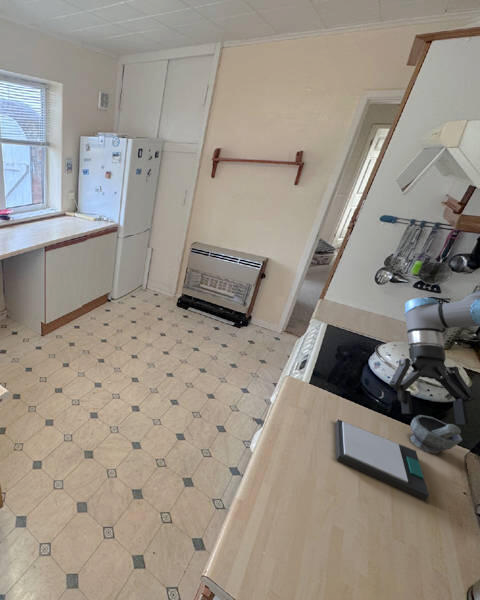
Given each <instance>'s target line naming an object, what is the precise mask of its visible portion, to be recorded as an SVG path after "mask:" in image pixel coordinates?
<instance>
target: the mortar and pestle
mask: <svg viewBox="0 0 480 600" xmlns="http://www.w3.org/2000/svg"><path fill="white" fill-rule="evenodd" d="M410 430H411V432H412V435H411V436H410V441H411V442H412V444H414V445H415V446H416V447H417V448H419V449H420V450H423V451H424V452H426V453H430V454H434V455H436V454H438V453H440V452H441V451H449V450H451V449H452V448H454V447H456V446H457V445H459V444H460V443H461V442H462V441H463V438H462V436H461V432H462V431H461V428H460V427H459V426H458V425H457V424H454V423H446V422H444V421H442V420H439V419H437V418H435V417H433V416H428V415H424V414H418V415H416V416H414V417H413V419H412V420H411V422H410Z"/></svg>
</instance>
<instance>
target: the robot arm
mask: <svg viewBox="0 0 480 600" xmlns="http://www.w3.org/2000/svg"><path fill="white" fill-rule="evenodd" d="M404 317H405V324H406V333H407V345H408V346H409V348H408V356H409V358H408V357H406V358H400V359H399V360H398V367H397V368H396V371H395V372H394V374H393V376H392V377H391V379H390V381H389V383H388V386H389V387H390V388H393V390H394V391H396V392H397V400H398V402H400V407H401V414H402V415H413V403H412V394H411V393H412V392H411V391H410V390H408V389H409V388H410V387H411V386H412V385H413V384H414V383H415V382H417V380H418V379H419V378H427V379H430V380H435V382H438V383H439V384H440V385H441V386H442V387H443V388H444V389H445V390H446V391H447V392H448V394H450V396H451V397H452V399H454V400H452V407H453V412H454V413H453V414H454V419H455V425H457V426H458V425H460V426H469V418H468V414H469V412H470V411H469V403H468V402H472V401H473V402H475V401H476V400H477V399H476V396H475V394H474V393H473V392H472V390H471V388H469V385H468V384H467V382H466V381H465V379H464V378H463V377H462V376H461V374H460V369H459V367H457V366H446V365H445V362H446V350H445V348H444V347H445V343H444V336H443V329H451V328H452V329H453V328H466V327H467V328H468V327H480V290H479V291H474V292H472V293H469V294H467V295H466V296H465V297H463V299H461V300H460V301H453V302H444V303H440V302H439V301H438V300H437V299H435V298H432V297H416V298H411V299H410V300H407V301H406V302H405V304H404ZM410 367H411V368H412V369H411V371H410V372H409V374H408V375H407V373H408V371H409V369H410ZM406 375H407V376H406Z"/></svg>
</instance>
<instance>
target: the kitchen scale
mask: <svg viewBox="0 0 480 600" xmlns="http://www.w3.org/2000/svg"><path fill="white" fill-rule="evenodd" d="M334 426H335V451H336V452H335V453H336V461H337V462H340V463H341V464H344V465H345V466H348V467H350V468H353V469H355V470H357V471H359V472H361V473H363V474H366V475H368V476H370V477H372V478H374V479H377V480H379V481H381V482H383V483H385V484H386V485H387V484H388V485H390V486H392V487H394V488H396V489H398V490H400V491H402V492H405V493H407V494H409V495H412V496H414V497H416V498H418V499H420V500H422V501H424V502H425V501H426V500H427V499H428V498H429V497H430V493H429V490H428V487H427V483H426V480H425V477H424V473H423V470H422V467H421V464H420V461H419V458H418V453H417V450H415V449H412V448H410V447H407V446H405V445H402V444H400V443H397V442H395V441H393V440H390V439H388V438H385V437H383V436H380V435H378V434H376V433H374V432H370V431H368V430H366V429H364V428H360V427H359V426H355V425H354V424H351V423H348V422H346V421H343V420H342V419H337V420H336V422H335V424H334Z"/></svg>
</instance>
